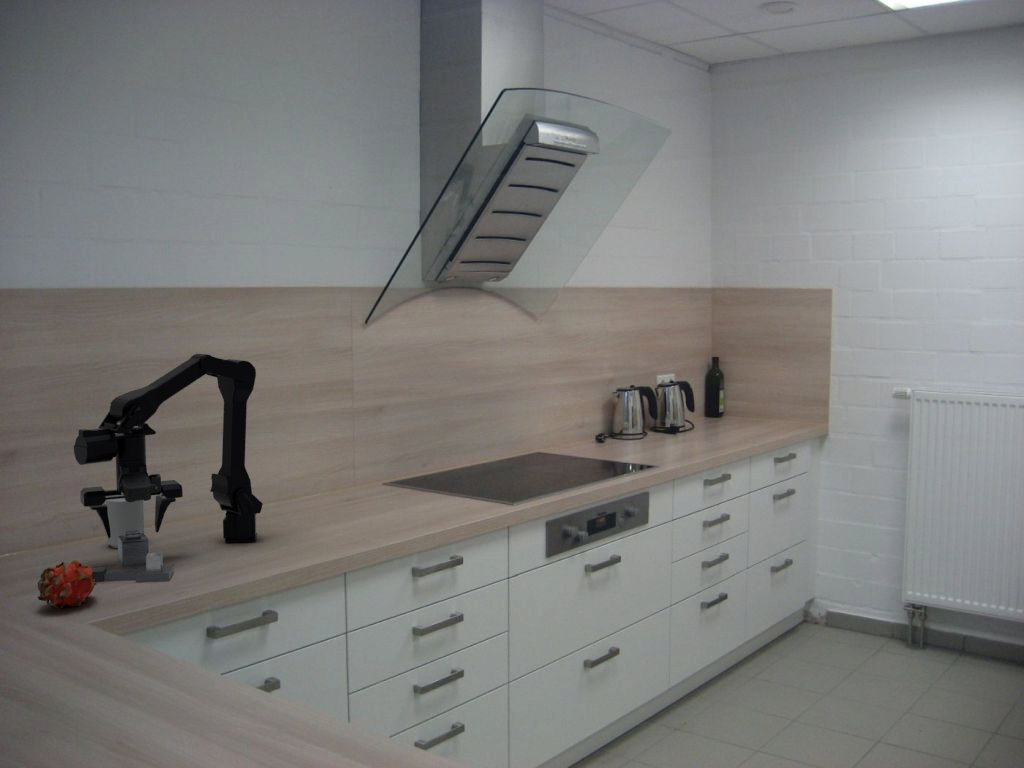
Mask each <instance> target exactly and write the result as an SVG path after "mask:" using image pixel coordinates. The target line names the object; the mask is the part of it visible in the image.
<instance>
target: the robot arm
mask: <svg viewBox="0 0 1024 768" xmlns="http://www.w3.org/2000/svg"><path fill="white" fill-rule="evenodd" d="M205 375H206V376H210V377H213V378H217V379H216V380H217V386H218V390H219V392H220V394H221V395H220V396H221V397H222V399H223V400H222V401H223V418H222V419H223V420H222V422H223V424H222V451H221V452H222V454H221V467H220V468H219V470H218V472H217V473H212V474H211V476H210V477H211V478H210V479H211V488H210V491H209V492H211V493H212V497H213V500H215V502H217V503H218V505H219V507H220V510H221V511H225V517H224V518H223V519H222V533H223V535H222V536H223V539H224V543H227V544H228V543H230V544H231V543H248V542H250V543H251V542H256V541H257V538H258V532H257V514H260V513H261V512H262V509H263V502H262V501H261V500H259V498H257V496H255V495H254V494H253V490H252V482H251V477H250V475H249V473H248V471H247V469H246V443H247V442H246V440H247V439H246V438H247V414H248V413H247V412H248V411H247V409H248V400H249V398H250V396H251V395H252V392H253V391H254V388H255V383H256V378H257V371H256V367H255V366H254V365H253V364H252V362H250V361H248V360H241V359H232V358H231V359H230V358H228V359H223V358H220V357H215V356H212V355H211V354H206V353H195V354H193V355H191V357H189V359H187V360H185V361H184V362H183V363H181V364H179V365H177V367H174V368H173V369H172V370H170V371H168V372H167V373H165V374H164V375H162V376H161V377H159V378H157V379H156V380H154V381H153V382H151V383H150V384H148V385H145V386H144V387H141V388H138V389H134V390H129V391H128V392H125V393H124V394H120V395H118V396H116V397H115V398H114V399H112V400H111V401H110V406H109V411H108V412H107V413H106V415H105V417H104V419H103V420H102V422H101V423H100V425H99V426H98V428H92V429H85V428H81V429H78V436H77V437H76V439H75V442H74V445H73V455H74V458H75V460H76V463H78V464H79V465H81V466H84V465H92V464H100V463H106V462H107V463H109V462H112V461H113V459H114V458H115V478H116V479H115V480H116V488H115V489H116V490H115V489H109V490H105V489H104V488H103V487H102V486H92V487H90V486H89V487H82V489H81V490H80V495H79V497H80V503H81V505H83V507H89V509H90V510H91V511H96V513H97V515H98V517H99V518H100V521H101V524H102V526H103V529H104V531H105V534H106V537H107V536H108V538H110V537H111V531H110V524H109V518H108V507H107V505H106V500H110V499H120V498H125V500H126V501H127V502H134V501H139V500H143V502H144V501H146V502H147V501H150V500H151V499H152V496H155V511H154V528H155V529H154V530H155V532H156V534H157V533H159V532H160V529H161V526H162V522H163V520H164V516H165V514H166V511H167V509H168V507H169V506H170V505H171V504H172V503H175V502H177V498H178V499H179V498H182V497H183V496H184V495H183V493H184V492H183V486H182V485H181V484H180V483H179V482H178V481H177V480H175V479H169V480H162V477H161V474H160V473H155V474H154V473H153V474H152V473H151V474H150V475H149V473H148V468H147V456H146V455H147V447H146V446H147V444H146V436H154V435H156V434H157V431H156V430H155V429H153V428H152V427H151V426H150V425H149V424H148V422H147V421H149V419H150V418H152V416H154V415H155V414H156V412H158V409H159V408H160V406H161V405H162V404H163V403H165V402H166V401H167V400H169V399H170V398H172V397H173V396H175V395H176V394H178V393H179V392H181V391H182V390H184V389H186V388H187V387H189V386H190V385H191V384H194V382H196V381H198V380H199V379H200V378H202V377H204V376H205ZM146 422H147V423H146ZM122 492H123V494H121V493H122Z"/></svg>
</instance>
